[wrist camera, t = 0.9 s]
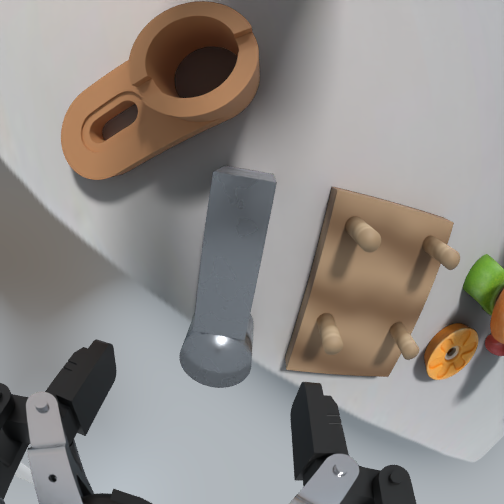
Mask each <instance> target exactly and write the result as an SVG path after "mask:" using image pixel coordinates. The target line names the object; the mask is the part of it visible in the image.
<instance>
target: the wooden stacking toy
mask: <svg viewBox="0 0 504 504" xmlns="http://www.w3.org/2000/svg"><path fill="white" fill-rule="evenodd" d="M463 289H464V290H465V291H466V292H467V293H468V294H469V295H470V296H471V297H473V298H474V299H475V300H476V301H477V302H478V303H479V304H480V305H481V306H482V309H483V310H484V311H486V312H487V313H488V314H489V315H491V316H492V317H491V323H490V329H491V334H490V335H488V336H487V338H486V340H485V346H486V348H487V350H488V351H489V352H491V353H492V354H494V355H498V356H504V269H503V268H502V267H501V266H500V265H499V264H498V263H497V262H496V261H495V260H494V259H493V258H491V257H490V256H489V255H488V254H486V255H484V256H482V257H481V258H480V259H479V260H477V262H476V263H475V264H474V265H473V266H472V268H471V269H470V271H469V273H468V275H467V277H466V279H465V282H464V285H463ZM477 346H478V334H477V332H476V331H475V330H474V329H472V328H470V327H468V326H466V325H464V324H461V323H455V324H451V325H449V326H447V327H445V328H443V329H442V330H441V331H439V332H438V333H437V334H436V335H435V336H434V337H433V338H432V340H431V341H430V342H429V344H428V346H427V348H426V350H425V354H424V360H425V365H426V370H427V374H428V376H429V377H430V378H432V379H435V380H441V379H446V378H448V377H451V376H453V375H454V374H456V373H457V372H459V371H460V370H461V369H462V368H464V367H465V366H466V365H467V363H468V362H469V361H470V360H471V358H472V357H473V355H474V353H475V351H476V349H477ZM450 349H451V350H450ZM449 350H450V351H449Z"/></svg>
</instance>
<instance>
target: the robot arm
mask: <svg viewBox="0 0 504 504" xmlns="http://www.w3.org/2000/svg"><path fill="white" fill-rule="evenodd" d="M115 377H116V363H115V357H114V348H113V345H112V344H110V343H106V342H103V341H100V340H95V341H93V343H92V344H91V345H90V347H89V348H88V349H87V348H84V347H83V348H81V349H80V350H78V351H77V352H75V353H74V354H73V355H72V356H71V358H70V359H69V360H68V362H67V363H66V364H65V366H64V368H62V370H61V371H60V372H59V374H58V375H57V376H56V378H55V379H54V380H53V382H52V383H51V384H50V386H49V387H48V389H47V390H46V391H45V392H37V393H34V394H32V395H31V396H30V397H23V396H18V395H13V394H11V392H10V390H9V388H8V387H7V386H6V385H4V384H2V383H0V504H5V502H4V500H3V499H4V497H5V495H6V493H7V490H8V488H9V485H10V483H11V481H12V479H13V477H14V474H15V472H16V470H17V468H18V466H19V464H20V462H21V459H22V457H23V455H24V453H25V451H26V449H27V447H28V445H29V444H31V448H28V458H29V464H30V469H31V474H32V478H33V482H34V486H35V490H36V494H37V497H38V501H39V504H152V503H150V502H148V501H146V500H144V499H142V498H140V497H137V496H134V495H131V494H127V493H124V492H121V491H119V490H116V489H113V492H112V494H103V493H102V494H94V492H93V490H92V488H91V486H90V484H89V482H88V479H87V477H86V475H85V472H84V469H83V466H82V463H81V460H80V457H79V454H78V451H77V447H76V443H75V440H74V437H75V436H76V433H79V434H82V435H84V436H86V434H87V432H88V430H89V428H90V426H91V424H92V422H93V420H94V418H95V416H96V415H97V412H98V411H99V409H100V407H101V405H102V403H103V401H104V400H105V397H106V396H107V394H108V392H109V390H110V388H111V387H112V385H113V383H114V381H115ZM339 415H340V414H339V410H338V406H337V404H336V403H335V401H334V400H333V398H332V397H331V396H324V395H323V390H322V386H321V384H320V383H310V382H302V383H301V385H300V388H299V390H298V393H297V395H296V397H295V400H294V402H293V405H292V409H291V430H292V444H293V445H292V446H293V461H294V476H295V480H303V485H304V487H303V489H302V490H301V491H300V492H299V493H298V494H297V495H296V496H295V498H294V499H293V500H292V501H291V502H290V503H289V504H416V500H415V496H414V492H413V487H412V483H411V479H410V476H409V474H408V472H407V471H406V470H405V469H404V468H402V467H401V466H398V465H389V466H386V467H384V468H383V469H382V470H381V471H379V470H374V469H369V468H365V467H361V466H359V465H358V464H357V462H356V461H355V460H354V459H353V458H352V457H350V456H349V454H348V450H347V446H346V441H345V437H344V432H343V428H342V425H341V419H340V417H339Z"/></svg>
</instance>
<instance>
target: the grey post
mask: <svg viewBox="0 0 504 504" xmlns="http://www.w3.org/2000/svg"><path fill="white" fill-rule="evenodd" d="M276 183H277V182H276V180H275V177H274V174H271V173H265V172H260V171H254V170H249V169H243V168H237V167H231V166H223V167H221V168H219V169H217V170H215V171H214V172H213V176H212V183H211V189H210V196H209V203H208V210H207V217H206V224H205V232H204V239H203V247H202V255H201V264H200V272H199V281H198V290H197V300H196V310H195V314H194V317H193V319H192V322H191V325H190V327H189V330H188V333H187V336H186V338H185V341H184V343H183V346H182V349H181V352H180V363H181V366H182V368H183V369H184V371H185V372H186V373H187V374H188V375H189V376H190V377H191V378H192V379H194V380H195V381H197V382H199V383H201V384H203V385H207V386H210V387H218V388H220V387H221V388H223V387H230V386H234V385H236V384H238V383H240V382H242V381H243V380H244V379H245V378H246V377H247V376H248V374H249V373H250V369H251V360H252V343H253V318H252V316H251V314H250V312H251V307H252V302H253V297H254V293H255V288H256V283H257V278H258V273H259V268H260V263H261V258H262V253H263V248H264V244H265V239H266V234H267V229H268V224H269V219H270V214H271V209H272V204H273V198H274V193H275V188H276Z"/></svg>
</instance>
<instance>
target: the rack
mask: <svg viewBox="0 0 504 504" xmlns="http://www.w3.org/2000/svg"><path fill="white" fill-rule="evenodd" d="M453 224H454V223H453V222H451V221H449V220H447V219H445V218H443V217H440V216H437V215H434V214H431V213H428V212H424V211H421V210H418V209H415V208H411V207H408V206H404V205H401V204H397V203H394V202H390V201H387V200H383V199H379V198H376V197H372V196H368V195H364V194H360V193H357V192H353V191H349V190H344V189H340V188H336V187H332V188H331V193H330V197H329V201H328V205H327V210H326V214H325V218H324V222H323V226H322V230H321V234H320V238H319V242H318V246H317V250H316V254H315V257H314V261H313V265H312V269H311V272H310V276H309V280H308V283H307V287H306V290H305V294H304V297H303V301H302V304H301V308H300V311H299V314H298V318H297V321H296V324H295V328H294V331H293V334H292V337H291V341H290V344H289V347H288V350H287V353H286V356H285V361H286V370H294V371H303V372H314V373H325V374H339V375H356V376H383V377H388V376H389V374H390V373H391V371H392V369H393V367H394V366H395V364H396V362H397V360H398V358H399V356H400V354H401V353H402V355H403V356H404V358H405V359H407V360H410V359H413V358H414V357H415V356H417V354H418V353H419V347H418V346H417V344H416V343H415V341H414V340H413V338H412V337H411V333H412V331H413V329H414V326H415V324H416V322H417V320H418V318H419V316H420V313H421V311H422V309H423V307H424V304H425V302H426V300H427V297H428V295H429V293H430V290H431V288H432V285H433V283H434V280H435V277H436V275H437V272H438V269H439V267H440V264H442V265H443V266H445V267H446V268H447V269H449V270H452V269H454V268H456V267H457V265H458V264H459V261H460V255H459V253H458V252H457V251H456V250H454V249H453V248H451V247H450V246H448V245H447V243H448V240H449V237H450V234H451V231H452V227H453Z"/></svg>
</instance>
